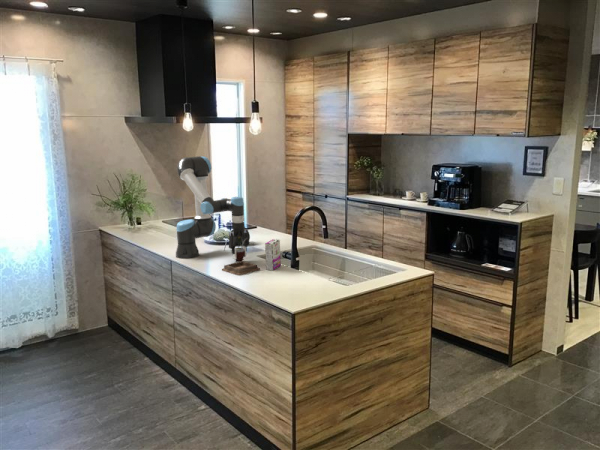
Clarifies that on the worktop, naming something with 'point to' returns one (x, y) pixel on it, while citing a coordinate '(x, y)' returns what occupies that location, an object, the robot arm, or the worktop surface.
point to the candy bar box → (272, 254)
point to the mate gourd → (240, 253)
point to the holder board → (240, 268)
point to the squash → (240, 238)
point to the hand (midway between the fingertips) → (239, 257)
